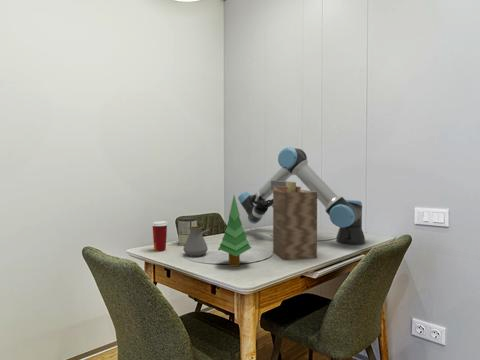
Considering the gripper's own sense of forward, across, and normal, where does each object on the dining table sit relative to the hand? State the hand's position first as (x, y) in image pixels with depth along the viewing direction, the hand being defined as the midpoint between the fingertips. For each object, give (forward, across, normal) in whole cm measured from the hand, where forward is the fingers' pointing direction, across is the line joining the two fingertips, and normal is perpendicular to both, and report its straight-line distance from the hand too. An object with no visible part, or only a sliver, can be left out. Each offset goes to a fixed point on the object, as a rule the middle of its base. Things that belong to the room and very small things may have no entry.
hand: (270, 193), depth 177 cm
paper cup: (-18, +57, -22) cm, 64 cm away
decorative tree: (+12, +27, -39) cm, 49 cm away
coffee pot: (-7, +36, -28) cm, 46 cm away
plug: (+16, 0, -6) cm, 17 cm away
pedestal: (+5, -4, -35) cm, 35 cm away
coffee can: (-27, +42, -17) cm, 53 cm away
